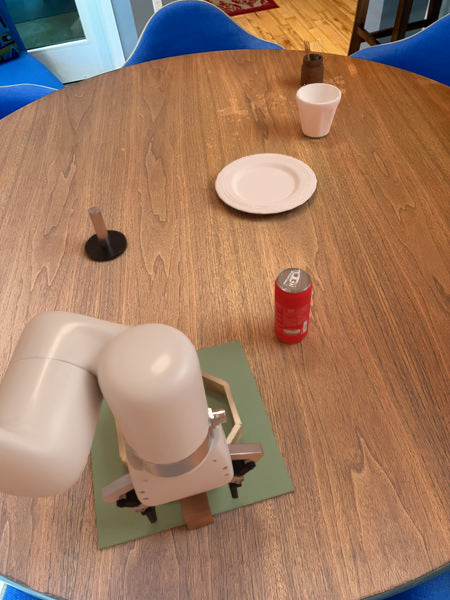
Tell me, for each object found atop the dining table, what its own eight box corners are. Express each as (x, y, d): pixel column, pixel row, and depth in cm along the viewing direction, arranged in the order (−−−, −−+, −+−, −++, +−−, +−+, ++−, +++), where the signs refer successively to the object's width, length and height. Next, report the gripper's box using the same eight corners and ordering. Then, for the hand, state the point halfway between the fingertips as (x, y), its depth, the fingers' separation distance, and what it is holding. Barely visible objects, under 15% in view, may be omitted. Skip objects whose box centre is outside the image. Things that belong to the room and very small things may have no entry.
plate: (300, 153, 107) (300, 146, 106) (329, 210, 93) (330, 202, 92) (208, 168, 106) (208, 161, 104) (224, 228, 92) (224, 220, 91)
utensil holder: (327, 82, 129) (331, 35, 120) (312, 91, 126) (316, 43, 117) (309, 77, 132) (312, 30, 123) (295, 85, 129) (297, 38, 120)
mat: (99, 550, 56) (98, 549, 55) (85, 380, 71) (84, 379, 71) (294, 491, 59) (294, 490, 58) (239, 340, 74) (239, 339, 74)
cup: (340, 141, 109) (344, 102, 102) (296, 144, 110) (297, 105, 103) (334, 119, 116) (338, 81, 109) (292, 122, 116) (294, 84, 109)
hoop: (135, 546, 55) (125, 534, 52) (115, 395, 69) (106, 376, 65) (265, 507, 57) (265, 492, 53) (221, 367, 71) (218, 347, 67)
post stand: (87, 265, 88) (72, 229, 81) (84, 238, 93) (70, 201, 86) (130, 255, 89) (118, 218, 82) (124, 229, 94) (113, 192, 87)
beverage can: (269, 341, 74) (269, 288, 65) (279, 316, 77) (281, 263, 68) (302, 350, 72) (307, 297, 63) (311, 324, 75) (316, 270, 66)
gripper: (249, 374, 47) (253, 448, 60) (72, 421, 45) (116, 487, 58) (274, 444, 42) (273, 508, 55) (77, 500, 40) (123, 554, 53)
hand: (192, 497), depth 56 cm, fingers open, 9 cm apart
